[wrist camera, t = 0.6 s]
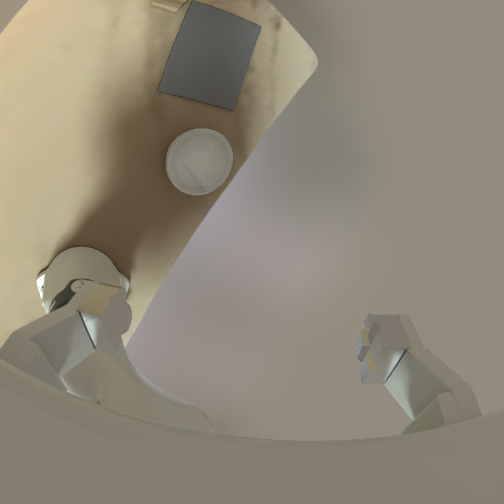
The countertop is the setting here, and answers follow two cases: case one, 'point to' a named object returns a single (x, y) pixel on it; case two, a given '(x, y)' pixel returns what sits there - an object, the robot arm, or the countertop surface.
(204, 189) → the ramekin
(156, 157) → the countertop surface
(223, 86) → the rubber mat
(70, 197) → the countertop surface
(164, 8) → the maple block
